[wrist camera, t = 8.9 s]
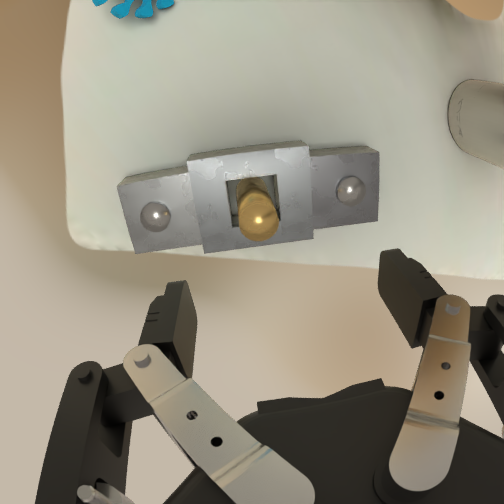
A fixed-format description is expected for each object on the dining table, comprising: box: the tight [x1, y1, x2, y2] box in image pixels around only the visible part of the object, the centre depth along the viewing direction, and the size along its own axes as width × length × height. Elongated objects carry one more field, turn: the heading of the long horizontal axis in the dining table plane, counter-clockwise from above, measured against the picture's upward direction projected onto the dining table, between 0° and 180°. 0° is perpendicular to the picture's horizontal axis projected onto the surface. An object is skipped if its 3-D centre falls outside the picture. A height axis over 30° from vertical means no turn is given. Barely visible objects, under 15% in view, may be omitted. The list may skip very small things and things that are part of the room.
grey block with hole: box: [117, 141, 379, 254], centre depth 30 cm, size 24×9×4 cm, turn 97°
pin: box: [236, 177, 279, 241], centre depth 28 cm, size 3×3×8 cm
